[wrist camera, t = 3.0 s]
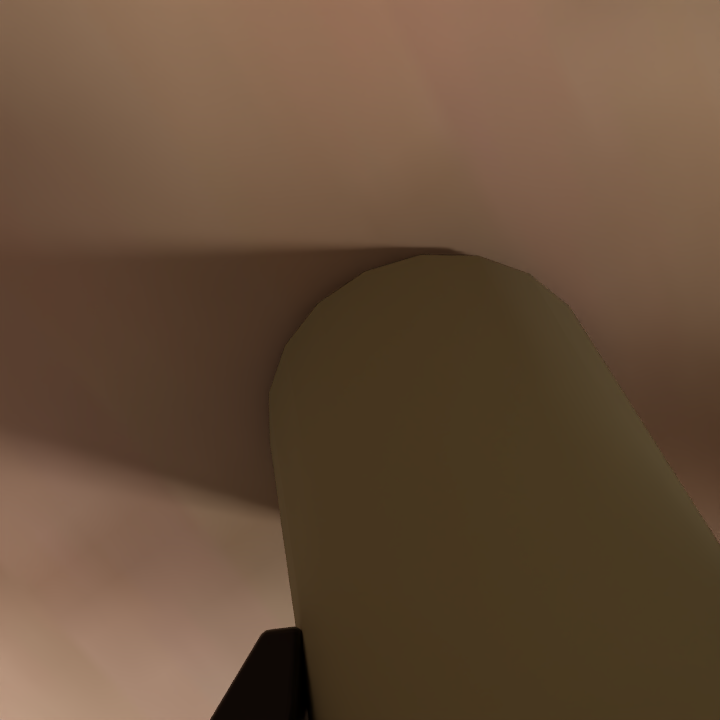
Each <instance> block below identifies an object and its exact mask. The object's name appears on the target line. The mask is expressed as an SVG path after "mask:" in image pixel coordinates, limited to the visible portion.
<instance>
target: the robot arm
mask: <svg viewBox="0 0 720 720" xmlns="http://www.w3.org/2000/svg"><path fill="white" fill-rule="evenodd" d="M210 720H309V717H308V710H307V698H306V684H305V671H304V657H303V643H302V632H301V630H300V629H299V628H298V627H287V628H279V629H271V630H266V631H265V632H263V633H262V634H261V636H260V637H259V639H258V640H257V642H256V644H255V645H254V647H253V649H252V651H251V652H250V654H249V656H248V657H247V659H246V661H245V662H244V664H243V666H242V667H241V669H240V671H239V672H238V674H237V676H236V677H235V679H234V681H233V682H232V684H231V686H230V687H229V689H228V691H227V692H226V694H225V696H224V697H223V699H222V701H221V702H220V704H219V706H218V707H217V709H216V711H215V712H214V714H213V716H212V717H211V719H210Z"/></svg>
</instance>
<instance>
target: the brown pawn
mask: <svg viewBox="0 0 720 720" xmlns="http://www.w3.org/2000/svg"><path fill="white" fill-rule="evenodd" d="M269 433H270V447H271V454H272V461H273V468H274V475H275V483H276V490H277V497H278V504H279V511H280V518H281V525H282V532H283V539H284V546H285V554H286V561H287V568H288V575H289V582H290V589H291V596H292V603H293V610H294V617H295V625H296V627H298V628H299V629H300V630H301V632H302V643H303V657H304V671H305V684H306V698H307V710H308V717H309V720H720V545H719V543H718V542H717V540H716V538H715V537H714V535H713V534H712V532H711V531H710V529H709V527H708V526H707V524H706V523H705V521H704V519H703V518H702V516H701V515H700V513H699V511H698V510H697V508H696V507H695V505H694V504H693V502H692V500H691V499H690V497H689V496H688V494H687V492H686V491H685V489H684V488H683V486H682V485H681V483H680V481H679V480H678V478H677V477H676V475H675V473H674V472H673V470H672V469H671V467H670V466H669V464H668V462H667V461H666V459H665V458H664V456H663V454H662V453H661V451H660V450H659V448H658V447H657V445H656V443H655V442H654V440H653V439H652V437H651V435H650V434H649V432H648V431H647V429H646V427H645V426H644V424H643V423H642V421H641V420H640V418H639V416H638V415H637V413H636V412H635V410H634V408H633V407H632V405H631V404H630V402H629V401H628V399H627V397H626V396H625V394H624V393H623V391H622V389H621V388H620V386H619V385H618V383H617V382H616V380H615V378H614V377H613V375H612V374H611V372H610V370H609V369H608V367H607V366H606V364H605V362H604V361H603V359H602V358H601V356H600V355H599V353H598V351H597V350H596V348H595V347H594V345H593V343H592V342H591V340H590V339H589V337H588V336H587V334H586V332H585V331H584V329H583V328H582V326H581V324H580V323H579V321H578V320H577V318H576V317H575V315H574V313H573V312H572V310H571V309H570V307H569V306H568V305H567V304H566V303H564V302H563V301H562V300H561V299H560V298H558V297H557V296H556V295H555V294H553V293H552V292H551V291H550V290H549V289H547V288H546V287H545V286H544V285H542V284H541V283H540V282H539V281H537V280H536V279H535V278H534V277H533V276H531V275H530V274H528V273H525V272H523V271H520V270H517V269H514V268H511V267H508V266H506V265H503V264H500V263H497V262H494V261H491V260H489V259H486V258H483V257H480V256H464V255H418V256H415V257H412V258H408V259H405V260H402V261H398V262H395V263H392V264H388V265H385V266H382V267H378V268H375V269H372V270H368V271H365V272H364V273H362V274H361V275H359V276H358V277H356V278H355V279H353V280H352V281H350V282H349V283H347V284H346V285H344V286H343V287H341V288H340V289H338V290H337V291H336V292H334V293H333V294H331V295H330V296H328V297H327V298H325V299H324V300H322V301H321V302H319V303H318V304H317V305H316V307H315V308H314V309H313V310H312V312H311V313H310V314H309V316H308V317H307V318H306V319H305V321H304V322H303V323H302V325H301V326H300V327H299V328H298V330H297V331H296V332H295V334H294V335H293V336H292V337H291V339H290V340H289V341H288V343H287V344H286V345H285V347H284V350H283V353H282V356H281V359H280V362H279V365H278V368H277V371H276V374H275V377H274V379H273V382H272V385H271V388H270V391H269Z"/></svg>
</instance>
